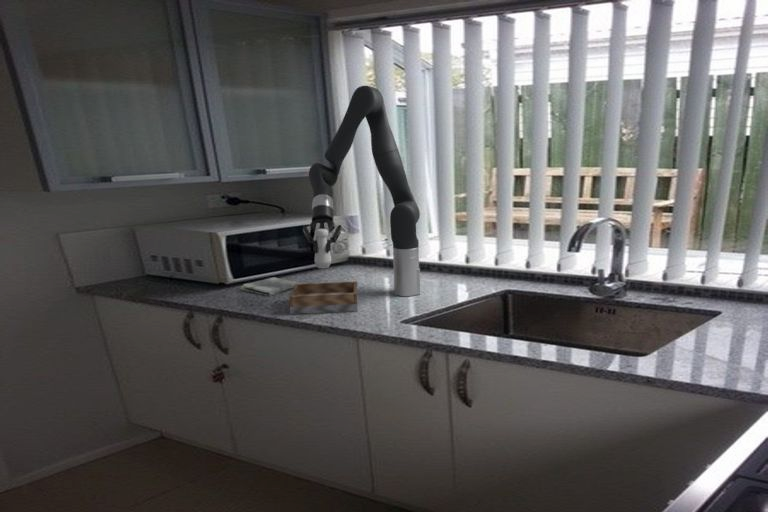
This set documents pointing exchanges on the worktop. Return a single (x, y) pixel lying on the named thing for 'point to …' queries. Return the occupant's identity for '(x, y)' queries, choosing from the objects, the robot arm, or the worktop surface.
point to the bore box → (324, 297)
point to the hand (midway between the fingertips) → (322, 251)
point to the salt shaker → (322, 249)
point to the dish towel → (269, 286)
